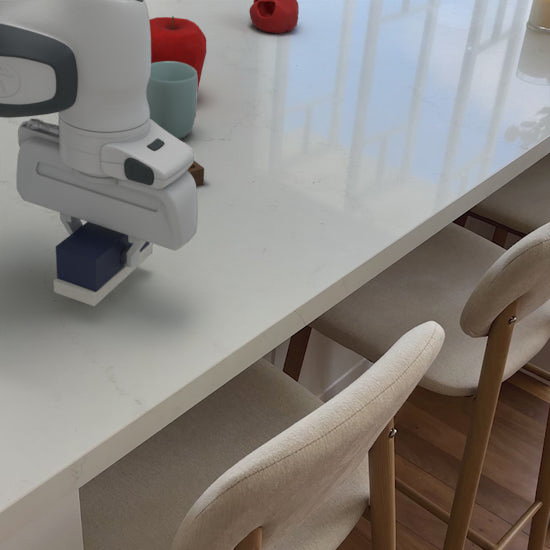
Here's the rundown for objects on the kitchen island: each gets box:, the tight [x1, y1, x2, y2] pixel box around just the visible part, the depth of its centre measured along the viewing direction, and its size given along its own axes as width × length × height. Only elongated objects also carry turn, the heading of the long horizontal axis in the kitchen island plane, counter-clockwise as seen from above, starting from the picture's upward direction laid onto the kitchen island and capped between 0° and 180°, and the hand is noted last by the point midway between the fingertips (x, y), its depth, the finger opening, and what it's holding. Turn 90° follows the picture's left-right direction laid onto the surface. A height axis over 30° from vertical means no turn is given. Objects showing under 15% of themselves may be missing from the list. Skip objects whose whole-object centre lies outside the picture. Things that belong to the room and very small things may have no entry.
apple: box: [149, 15, 207, 93], centre depth 139 cm, size 10×10×14 cm
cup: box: [146, 61, 198, 140], centre depth 130 cm, size 8×8×10 cm
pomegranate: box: [248, 0, 300, 34], centre depth 173 cm, size 10×10×9 cm
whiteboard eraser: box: [53, 221, 153, 307], centre depth 96 cm, size 12×5×6 cm, turn 156°
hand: (105, 255), depth 96 cm, fingers closed on whiteboard eraser, 5 cm apart
